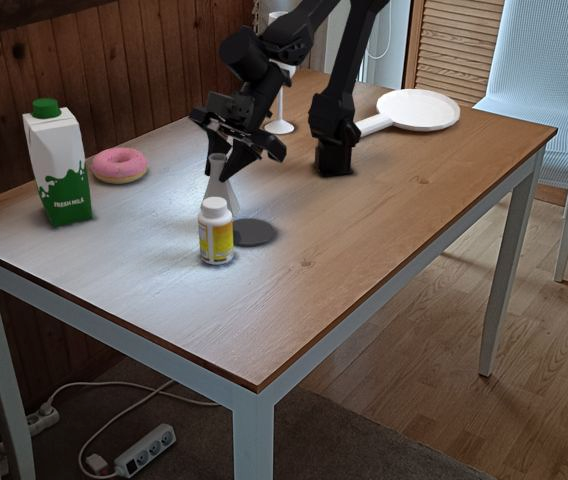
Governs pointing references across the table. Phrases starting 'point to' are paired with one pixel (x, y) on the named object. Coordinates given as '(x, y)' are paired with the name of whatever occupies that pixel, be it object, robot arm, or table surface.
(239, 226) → the slate coaster
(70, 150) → the milk carton
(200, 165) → the table surface
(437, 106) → the frying pan
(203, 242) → the supplement bottle
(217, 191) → the flask
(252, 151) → the robot arm
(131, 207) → the table surface
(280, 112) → the champagne flute
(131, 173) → the doughnut
